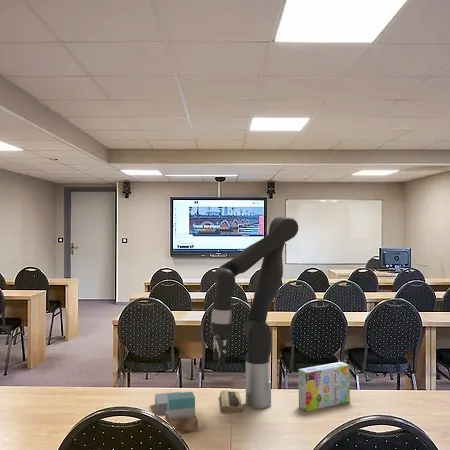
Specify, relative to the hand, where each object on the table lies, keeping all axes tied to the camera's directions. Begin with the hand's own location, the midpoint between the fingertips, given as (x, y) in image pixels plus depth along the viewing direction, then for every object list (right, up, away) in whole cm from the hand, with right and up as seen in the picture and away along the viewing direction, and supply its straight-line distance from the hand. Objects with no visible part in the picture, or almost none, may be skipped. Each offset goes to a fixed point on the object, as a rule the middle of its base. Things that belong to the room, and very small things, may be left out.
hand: (218, 363), depth 170 cm
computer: (+5, -19, +6) cm, 20 cm away
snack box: (+41, -18, +6) cm, 46 cm away
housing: (-13, -14, -14) cm, 24 cm away
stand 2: (-13, -18, -14) cm, 26 cm away
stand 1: (-19, -18, +2) cm, 26 cm away
